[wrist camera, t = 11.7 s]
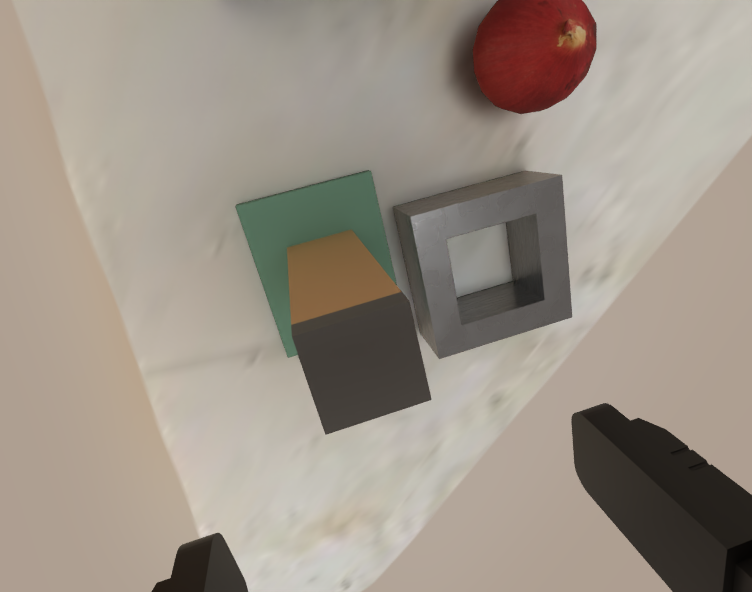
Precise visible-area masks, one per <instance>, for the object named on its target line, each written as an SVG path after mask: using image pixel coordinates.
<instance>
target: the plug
mask: <svg viewBox="0 0 752 592" xmlns="http://www.w3.org/2000/svg"><path fill="white" fill-rule="evenodd" d="M287 259H288V277H289V295H290V312H291V330H292V339H293V342H294V344H295V347H296V350H297V353H298V356H299V359H300V362H301V365H302V368H303V371H304V373H305V376H306V379H307V382H308V385H309V388H310V391H311V394H312V397H313V400H314V402H315V405H316V408H317V411H318V414H319V417H320V420H321V423H322V426H323V429H324V431H325V434H329V433H332V432H335V431H338V430H341V429H344V428H347V427H351V426H354V425H357V424H360V423H363V422H366V421H369V420H372V419H375V418H378V417H381V416H384V415H387V414H390V413H393V412H396V411H399V410H402V409H405V408H408V407H411V406H414V405H417V404H420V403H423V402H426V401H429V400H431V395H430V391H429V387H428V382H427V378H426V373H425V369H424V364H423V360H422V356H421V351H420V347H419V342H418V338H417V333H416V329H415V325H414V320H413V316H412V311H411V307H410V303H409V300H408V299H407V298H406V297H405V295H404V294H403V293H402V292H401V290H400V289H399V288H398V287H397V285H396V284H395V283H394V282H393V280H392V279H391V278H390V277H389V275H388V274H387V273H386V272H385V270H384V269H383V268H382V267H381V266H380V264H379V263H378V262H377V261H376V259H375V258H374V257H373V256H372V254H371V253H370V252H369V251H368V249H367V248H366V247H365V246H364V244H363V243H362V242H361V241H360V239H359V238H358V237H357V236H356V234H355V233H354V232H353V231H352V229H351V230H348V231H344V232H340V233H337V234H333V235H330V236H326V237H323V238H319V239H316V240H312V241H308V242H305V243H301V244H298V245H294V246H291V247H287Z"/></svg>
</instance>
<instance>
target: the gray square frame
mask: <svg viewBox="0 0 752 592" xmlns="http://www.w3.org/2000/svg"><path fill="white" fill-rule="evenodd" d="M393 209H394V214H395V218H396V223H397V227H398V232H399V237H400V241H401V246H402V251H403V255H404V260H405V265H406V269H407V274H408V279H409V283H410V288H411V293H412V297H413V302H414V307H415V311H416V316H417V320H418V325H419V330H420V333H421V335H422V336H423V337H424V339H425V340H426V342H427V343H428V344H429V346H430V347H431V348H432V350H433V351H434V353H435V354H436V355H437V357H438V358H439V359H441V358H444V357H447V356H450V355H454V354H457V353H460V352H463V351H466V350H469V349H473V348H476V347H479V346H482V345H485V344H489V343H492V342H495V341H498V340H501V339H504V338H508V337H511V336H514V335H517V334H520V333H524V332H527V331H530V330H533V329H536V328H539V327H543V326H546V325H549V324H552V323H555V322H559V321H562V320H565V319H568V318H571V317H572V307H571V293H570V279H569V265H568V251H567V237H566V223H565V209H564V195H563V181H562V175H558V174H549V173H541V172H532V171H523V172H519V173H515V174H512V175H508V176H504V177H501V178H497V179H493V180H489V181H486V182H482V183H478V184H475V185H471V186H467V187H464V188H460V189H456V190H453V191H449V192H445V193H442V194H438V195H434V196H431V197H427V198H423V199H420V200H416V201H412V202H408V203H405V204H401V205H397V206H394V207H393ZM504 222H506V227H507V235H508V243H509V251H510V259H511V268H512V276H513V281H512V282H509V283H506V284H502V285H499V286H496V287H492V288H489V289H486V290H482V291H479V292H476V293H472V294H469V295H466V296H462V297H459V298H456V292H455V286H454V281H453V275H452V269H451V263H450V258H449V252H448V246H447V241H446V239H448V238H451V237H455V236H458V235H462V234H466V233H469V232H473V231H476V230H480V229H483V228H487V227H490V226H494V225H497V224H501V223H504Z"/></svg>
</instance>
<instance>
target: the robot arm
mask: <svg viewBox="0 0 752 592" xmlns="http://www.w3.org/2000/svg"><path fill="white" fill-rule="evenodd" d="M572 434H573V450H574V464H575V469H576V472H577V475H578V477H579V479H580V481H581V483H582V485H583V487H584V488H585V490H586V491H587V492H588V494H589V495H590V496H591V497H592V498H593V500H594V501H595V502H596V503H597V504H598V505H599V506H600V508H601V509H602V510H603V511H604V512H605V513H606V515H607V516H608V517H609V518H610V519H611V520H612V521H613V523H614V524H615V525H616V526H617V527H618V529H619V530H620V531H621V532H622V533H623V534H624V535H625V537H626V538H627V539H628V540H629V541H630V542H631V544H632V545H633V546H634V547H635V548H636V549H637V551H638V552H639V553H640V554H641V555H642V556H643V558H644V559H645V560H646V561H647V562H648V563H649V565H650V566H651V567H652V568H653V569H654V570H655V572H656V573H657V574H658V575H659V576H660V577H661V578H662V580H663V581H664V582H665V583H666V584H667V585H668V587H669V588H670V589H671V590H672V591H673V592H752V495H751V494H750V493H748V492H747V491H746V490H744V489H743V488H742V487H741V486H739V485H738V484H737V483H735V482H734V481H733V480H731V479H730V478H729V477H727V476H726V475H725V474H723V473H722V472H721V471H720V470H718V469H717V468H716V467H714V466H713V465H709V464H708V463H707V461H706V460H705V459H704V458H703V457H701V456H700V455H699V454H697V453H696V452H695V451H693V450H689V448H688V446H687V445H685V444H684V443H683V442H681V441H680V440H679V439H678V438H676V437H675V436H674V435H672V434H671V433H670V432H668V431H667V430H666V429H664V428H661V427H659V426H656V425H654V424H652V423H649V422H647V421H645V420H642V419H640V418H637V419H634V420H631V421H630V420H629V419H628V418H626V417H625V416H624V415H623V414H621V413H620V412H619V411H618V410H617V409H615V408H614V407H613V406H611V405H609V404H606V403H603V404H600V405H597V406H594V407H592V408H589V409H586V410H583V411H580V412H577V413H574V414H573V416H572ZM152 592H248V589H247V585H246V582H245V579H244V577H243V575H242V573H241V571H240V569H239V567H238V565H237V563H236V561H235V559H234V557H233V555H232V553H231V551H230V549H229V547H228V545H227V543H226V541H225V540H224V538H223V536H222V535H221V534H220V533H215V534H212V535H209V536H206V537H203V538H200V539H198V540H195V541H192V542H189V543H186V544H183V545H181V546H180V547H179V549H178V551H177V554H176V558H175V562H174V566H173V571H172V575H171V578H170V579H167V580H164V581H161V582H158V583H157V584H156V585H155V587H154V589H153V590H152Z"/></svg>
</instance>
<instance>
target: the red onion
mask: <svg viewBox="0 0 752 592" xmlns="http://www.w3.org/2000/svg"><path fill="white" fill-rule="evenodd" d="M595 51H596V22H595V20H594V19H593V17H592V15H591V13H590V11H589V9H588V8H587V6H586V4H585V3H584V2H583V1H582V0H499V1H497V2H496V3H495V5H494V6H493V7H492V8H491V10H490V11H489V12H488V14H487V15H486V17H485V18H484V20H483V21H482V22H481V24H480V25H479V27H478V31H477V35H476V39H475V43H474V47H473V60H474V73H475V75H476V78H477V81H478V83H479V86H480V88H481V91H482V93H483V94H484V95H485V96H486V97H487V98H488V99H489V100H490V101H491V102H492V103H493V104H494V105H495V106H497V107H499V108H502V109H505V110H508V111H512V112H515V113H519V114H524V113H530V112H537V111H541V110H544V109H547V108H549V107H551V106H553V105H555V104H557V103H558V102H560V101H562V100H564V99H565V98H567V97H568V96H569V95H570V94H571V93H572V92H573V91H574V89H575V88H576V87H577V86H578V85H579V84H580V82H581V81H582V80H583V79H584V78H585V76H586V75H587V73H588V71H589V68H590V65H591V62H592V60H593V57H594V54H595Z"/></svg>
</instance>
